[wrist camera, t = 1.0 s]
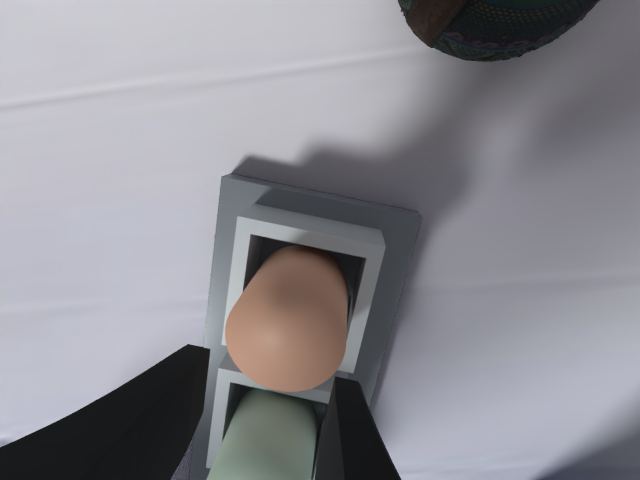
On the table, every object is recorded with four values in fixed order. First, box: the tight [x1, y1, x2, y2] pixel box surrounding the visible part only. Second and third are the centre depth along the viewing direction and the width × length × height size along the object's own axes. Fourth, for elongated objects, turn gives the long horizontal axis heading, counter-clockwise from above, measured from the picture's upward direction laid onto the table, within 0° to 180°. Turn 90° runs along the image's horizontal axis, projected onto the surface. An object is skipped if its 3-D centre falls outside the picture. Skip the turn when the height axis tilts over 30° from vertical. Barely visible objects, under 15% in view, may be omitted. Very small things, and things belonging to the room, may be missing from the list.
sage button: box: [207, 388, 318, 480], centre depth 16 cm, size 4×4×4 cm
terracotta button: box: [225, 245, 348, 392], centre depth 14 cm, size 4×4×4 cm
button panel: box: [189, 174, 422, 480], centre depth 19 cm, size 22×9×4 cm, turn 169°
